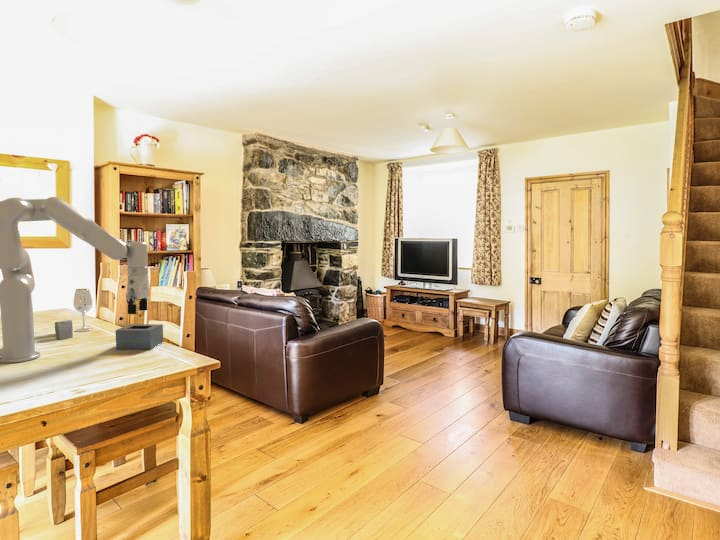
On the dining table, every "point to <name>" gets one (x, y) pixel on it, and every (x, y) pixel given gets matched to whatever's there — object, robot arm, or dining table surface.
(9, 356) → the robot arm
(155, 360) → the dining table surface
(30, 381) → the dining table surface
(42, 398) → the dining table surface
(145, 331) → the box
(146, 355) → the dining table surface
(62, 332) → the grey block
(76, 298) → the wineglass
